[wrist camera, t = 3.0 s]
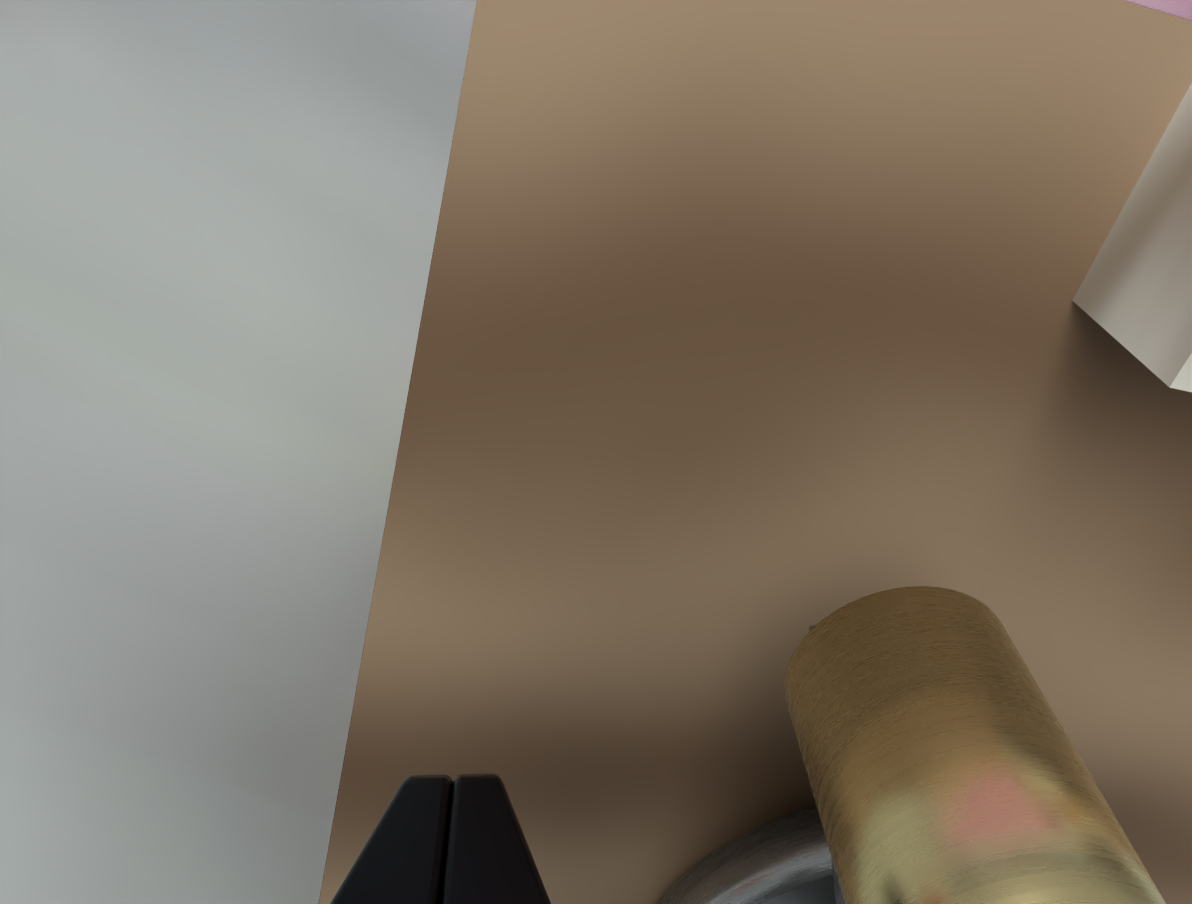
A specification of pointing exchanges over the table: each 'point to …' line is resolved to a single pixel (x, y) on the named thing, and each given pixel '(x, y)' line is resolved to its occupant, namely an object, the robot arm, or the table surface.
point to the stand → (784, 407)
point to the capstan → (926, 775)
